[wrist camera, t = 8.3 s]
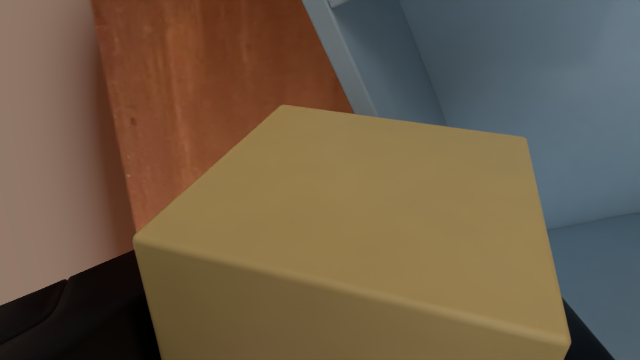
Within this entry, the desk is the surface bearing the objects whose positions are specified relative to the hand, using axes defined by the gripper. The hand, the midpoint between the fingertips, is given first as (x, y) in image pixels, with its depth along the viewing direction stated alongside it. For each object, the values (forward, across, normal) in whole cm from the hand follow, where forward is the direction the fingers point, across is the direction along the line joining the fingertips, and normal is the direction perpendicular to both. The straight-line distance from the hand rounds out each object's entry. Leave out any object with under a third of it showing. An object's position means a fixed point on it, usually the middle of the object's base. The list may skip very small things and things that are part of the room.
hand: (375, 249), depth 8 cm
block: (+1, 0, 0) cm, 1 cm away
